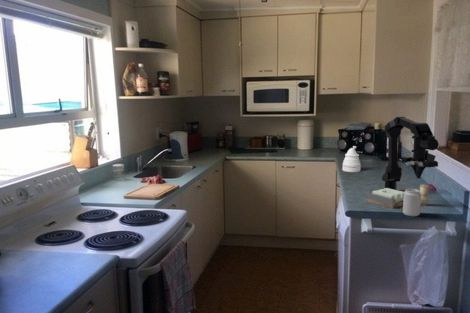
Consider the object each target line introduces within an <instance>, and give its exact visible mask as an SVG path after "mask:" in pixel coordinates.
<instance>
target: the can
mask: <svg viewBox="0 0 470 313" xmlns="http://www.w3.org/2000/svg"><path fill="white" fill-rule="evenodd" d="M404 190H405V191H403V192H404V199H403V206H402V213H403V214H404V215H405V216H407V217H411V218H413V217H418V216H420V215H421V209H422V208H421V206H422V205H421V193H420V189H417V188H406V189H404Z"/></svg>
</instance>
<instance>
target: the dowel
mask: <svg viewBox="0 0 470 313" xmlns="http://www.w3.org/2000/svg"><path fill="white" fill-rule="evenodd" d="M429 190H430V186H429V184H428V185H427V184H420V185H419V191H420V193H421V206H425V207H426V206H428V204H429Z"/></svg>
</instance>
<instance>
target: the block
mask: <svg viewBox="0 0 470 313" xmlns="http://www.w3.org/2000/svg"><path fill="white" fill-rule="evenodd" d="M404 192H405V191H401V190H398V189H396V190H393V189H389V188H385V187H384V188H383V189H382V188H381V189H377V190H372V192H371V193H373V194H377V195H381V196H385V197H389V198H393V199H395V202H399V201H403V199H404Z"/></svg>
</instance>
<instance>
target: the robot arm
mask: <svg viewBox="0 0 470 313" xmlns="http://www.w3.org/2000/svg"><path fill="white" fill-rule="evenodd" d="M429 125H430V124H428V123H427V122H417V121H414V120H412V119H410V118H406V116H396V117H395V118H393V119H392V120H391V121H389V122H387V124H386V125H385V126H384V134H385V136H386V137H387V139H388V148H387V149H388V162H387V163H388V164H387V166H386V167H385V169H384V170H385V172H384V173H383V175H382V176H381V180H382V182H384V188H389V189H393V190H397V185H398V184H397V182H400V181H401V179H402V174H403V172H402V167H400V165H399V156H398V155H399V147H398V146H399V138H400V136H401V133H402V130H403V129H404V128H406V129H408V130H410V131H409V132H410V134H413V135H412V136H411V139H413V149H411V153H413V154H412V156H403V157H402V158H401V163H402V164H403V163H404V164H406V163H407V162H408V163H409V162H410V164H409V166H410V167H411V170H413V173H414V174H415V177H416V179H421V177H422V175H423V173H424V171H425V169H427V168H438V167H439V162H438V161H437V160H435V159H436V157H437V156H436V155H434V154H432V153H429V151H436V150H437V148H439V143H440V142H439V141H438V140H437V139H436V136H435V135H434V134H433V131H432V130H431V128H430V126H429Z"/></svg>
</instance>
